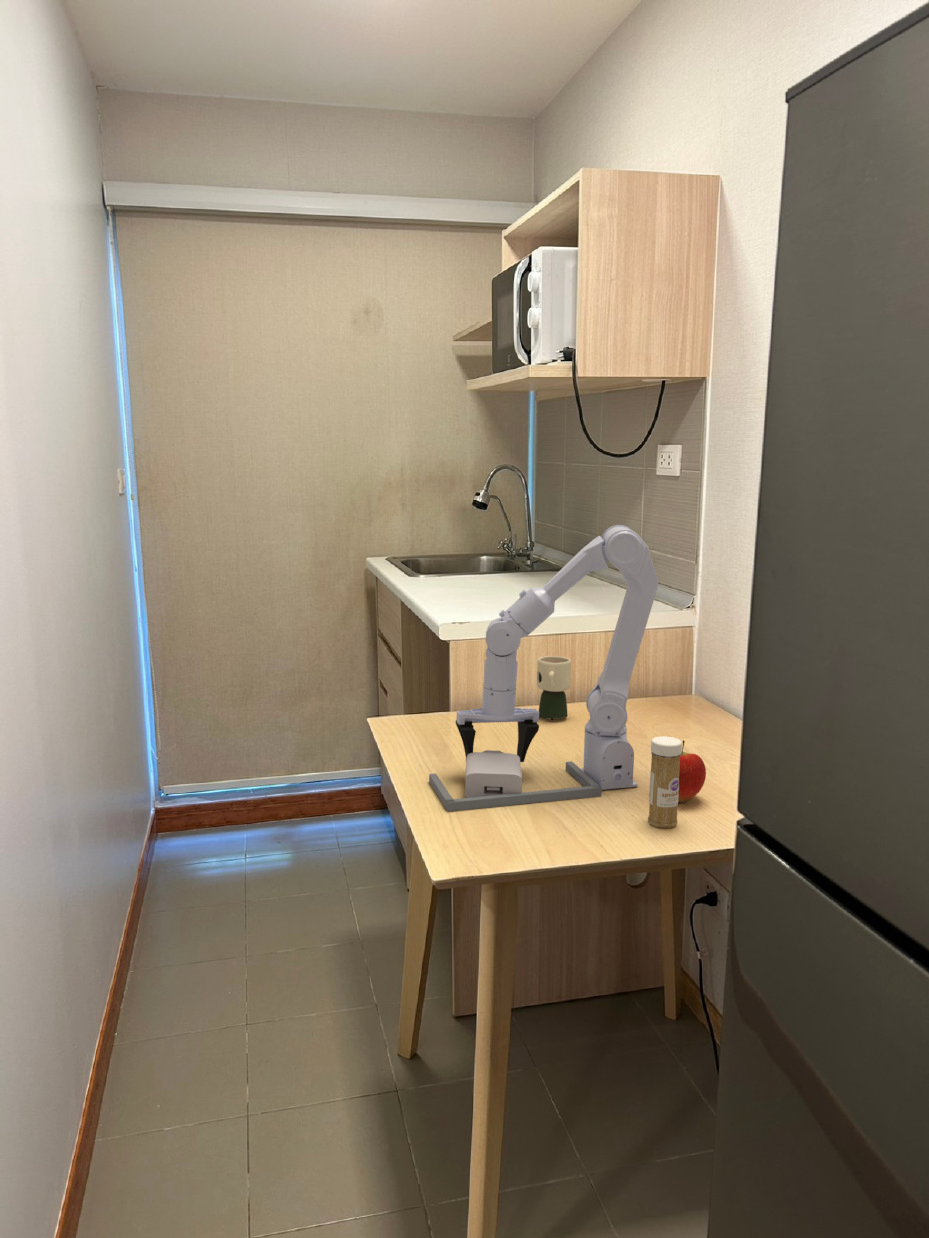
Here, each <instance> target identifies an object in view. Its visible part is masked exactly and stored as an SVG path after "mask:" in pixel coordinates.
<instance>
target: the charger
mask: <svg viewBox="0 0 929 1238" xmlns="http://www.w3.org/2000/svg"><path fill="white" fill-rule="evenodd" d="M465 762H466V763H465V764H466V765H465V784H464V785H465V788H464V789H465V790H464V797H465V798H471V797H481V796H492V795H502V794H512V793H523V792H522V789H523V775H522V765H521V762H520V757H519V756H518V755H517V753H508V752H507V753H506V752H502V751H501V750H497V749H496V750H490V749H487V750H486V749H485V750H483V751H482V752H481V751H479V752H477V751H476V752H474V751H473V753H470V754H468V755H467V757H466V756H465Z"/></svg>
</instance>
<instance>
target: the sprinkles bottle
mask: <svg viewBox="0 0 929 1238" xmlns="http://www.w3.org/2000/svg"><path fill="white" fill-rule="evenodd" d="M650 744H651V745H650V752H651V764H650V772H649V774H650V775H649V776H650V777H649V795H648V803H649V806H648V808H649V809H648V817H647V821H648V823H649V824H650V825H652V826H653V827H656V828H661V829H663V828H664V829H668V828H673V827H675V826H676V825H677V824H678V805H679V802H678V797H679V769H680V768H679V767H680V754H681V752H682V748H683V741H681V740H680V739H679V738H676V737H673V736H666V735H665V736H664V735H663V736H656V737H653V738H652V739H651V743H650Z"/></svg>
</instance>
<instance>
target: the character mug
mask: <svg viewBox="0 0 929 1238" xmlns="http://www.w3.org/2000/svg"><path fill="white" fill-rule="evenodd" d="M571 670H572V660H571V658H569V657H566V656H560V655H545V656H540V657H538V658H537V672H536V686H537V688H538V689H541V690H542V693H541V695H540V700H539V707H538V711H539V718H542V719H550V720H551V721H554V719H564V718H565V719H566V718H567V717H568V704H567V694H566V693H565V691H568V690H569V689H571V675H572V674H571Z"/></svg>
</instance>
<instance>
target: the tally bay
mask: <svg viewBox="0 0 929 1238" xmlns="http://www.w3.org/2000/svg"><path fill="white" fill-rule="evenodd" d="M581 769H582V768H580V767H579V766H578V765H577V764H575V762H574V761H566V762H565V771H566V772H567V773H568V774H570V776H572V777H573V779H575V780H576V781H577V782H578V783H579V784H580V785H581V786H576V787H565V788H557V789H556V788H555V789H547V790H546V789H545V790H533V791H524V792H522V793H512V794H502V795H492V796H481V797H471V798H467V797H464V798H463V797H462V798H453V797H452V795H451V794H450V793H449V791H448V789H447V788H446V787H445V785H444V783H443V781H442V780H441V778H440V777H439V776H438V774H437V773H436V772H435V773H428V781H429V785H430V786H431V788H432V789H433V791H434V792H435V794H436V795H437V797H438V799H439V800H440V803H442V805H443V807H444V808H445V810H446V811H447V812H457V811H468V810H477V809H486V808H489V809H490V808H496V807H505V806H507V807H508V806H518V805H519V806H520V805H527V804H529V805H530V804H536V803H538V804H539V803H547V802H556V801H557V802H558V801H566V800H569V801H570V800H577V799H588V798H595V797H597V798H598V797H602V791H603V790H602V788H601V787H600V786H599V785H598V784H597V783H596V782H595V781H593V780H592V779H591V778H590V777H589V776H588V775H587V774H586V773H584V772H583V771H582V770H581Z"/></svg>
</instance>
